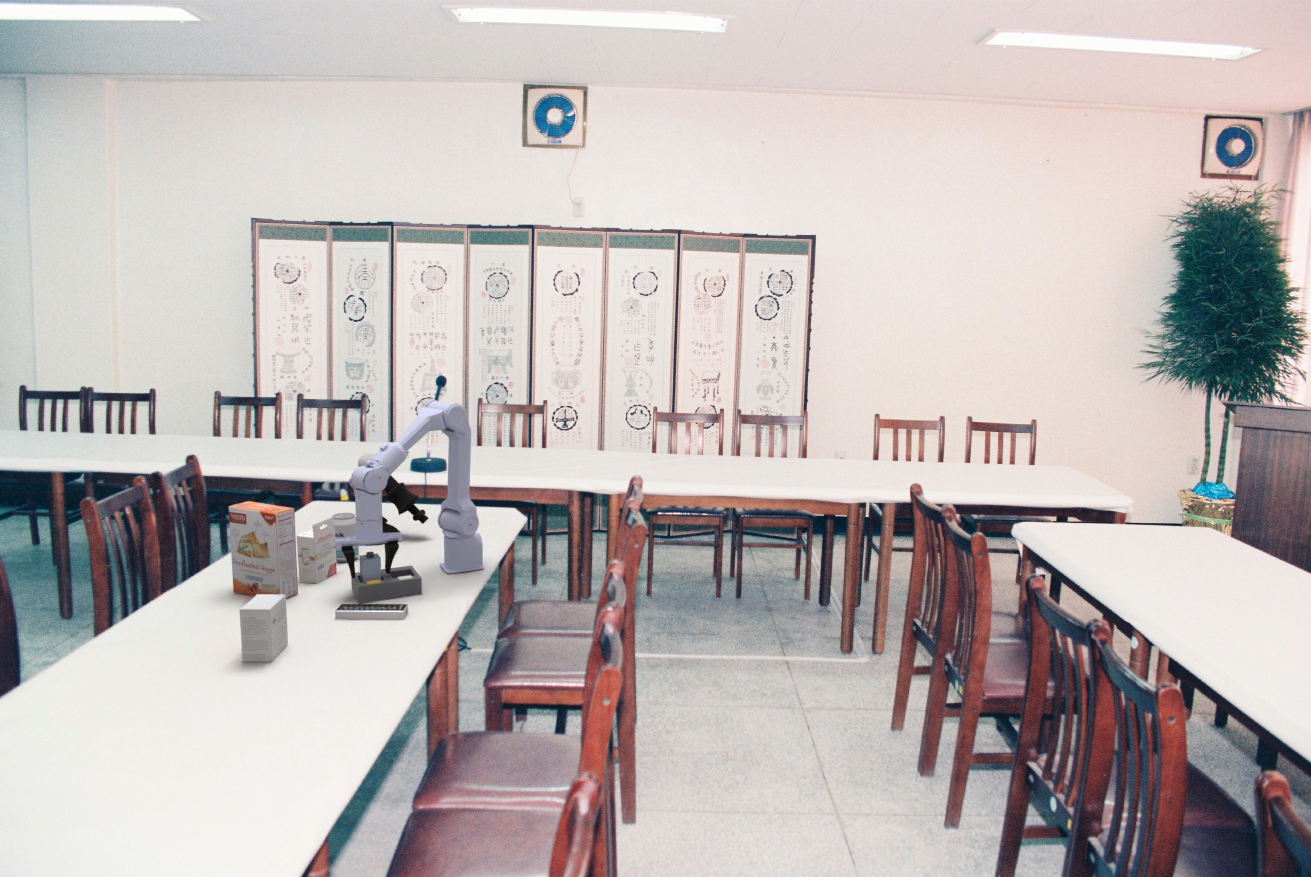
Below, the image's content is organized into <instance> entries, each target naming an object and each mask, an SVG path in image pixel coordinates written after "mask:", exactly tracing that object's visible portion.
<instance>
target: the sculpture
mask: <svg viewBox="0 0 1311 877" xmlns="http://www.w3.org/2000/svg"><path fill="white" fill-rule="evenodd" d="M375 454H376V453H372V452H371V453H369V452H368V453H364V454H363V455H361V456H360V457H359V458H358V460H357V461H358V462H357V466H358V467H361V466H365V464H366V462H367V461H368V460H370V459H371V458H372V457H373V456H374V455H375ZM382 491H384V492H385V494H386V496H385V499H386V500H387V501H389V502H390V503H392V504H393V505H394V506H395V507H396V509H397V511H398V512H397V513H398V516H400V515H402V514H404V513H406V512H408V513H410V514H411V515H412V520H413V521H414V522H417V521H419V522H420V524H421V525H423V524H425V523H426V522H427V521H428V520H429V517H428V516H427V515H426V510H425V509H419V508H418V506H416V505H415V504H416V501H417V500H418V499H419V495H418V494H415V493H412V492H411V491H409V490H408V488H407V486H406V485H405V482H400V483H399V482H398V481H397V480H396V478H395V477H393V476H392V474H391V475H390V476H389V478H388V480H387V485H386V487H385V489H383V490H382ZM388 521H389V520H388V519H387V518H386V517H384V516H383V515H382V528H383V533H396V532H401V530H399V529H398V528H397V527H395V526H394V525H391V524H390V523H388ZM380 545H381V546H383V545H384V543H382V544H373V545H372V546H380ZM364 546H366V547H367V546H370V545H364Z"/></svg>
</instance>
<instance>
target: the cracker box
mask: <svg viewBox="0 0 1311 877" xmlns="http://www.w3.org/2000/svg"><path fill="white" fill-rule="evenodd" d="M295 516H296V515H295V508H294V507H290V506H289V507H287V506H281V505H280V506H279V505H275V504H268V503H264V502H263V503H262V502H256V501H250V500H248V501H244V502H240V503H235V504H232V505H229V506H228V519H229V520H228V521H229V522H228V523H229V533H230V534H229V536H230V537H229V539H230V556H231V557H230V558H231V568H232V569H231V572H232V573H231V574H232V575H231V576H232V586H233V587H232V588H233V589H232V590H233V593H237V594H241V595H246V596H251V597H255V596H256V595H257V594H281V595H286V600H287V599H290V598H291V597H294V596H296V595H299V588H298V587H299V584H298V583H299V581H298V580H299V579H298V565H297V564H298V557H297V536H296V517H295Z"/></svg>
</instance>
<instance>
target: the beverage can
mask: <svg viewBox="0 0 1311 877" xmlns="http://www.w3.org/2000/svg"><path fill="white" fill-rule="evenodd" d="M331 517H333V520H334V528H335V539H340V538H346V537H350V536H355V535H356V513H352V512H341V513H340V512H339V513H336V514H333V515H332V516H331ZM359 547H360V546H355V547H353V548H354V552H355V559H356V558H357V557H360V552H359V550H360V548H359ZM336 561H337V562H336V563H347V560H346V558H345V556H344V554H343V552H342V550H341V549H336Z"/></svg>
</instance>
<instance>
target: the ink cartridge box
mask: <svg viewBox="0 0 1311 877" xmlns="http://www.w3.org/2000/svg"><path fill="white" fill-rule="evenodd" d="M325 525H326V526H325ZM323 526H324V527H323ZM296 551H297V564H298V565H297V568H298V580H299V581H298V583H307V584H308V583H309V584H318V583H320V582H322V581H324V580H326V579H327V578H330V577H332V576H333V575H335V574H337V569H338V568H337V562H336V542H335V528H334V520H333V517H332V516H331V517H329V518H326V519H324V520H321V521H319V522H317V523H314V524H312V529H311V530H308V531H305V532H303V533H300V534H298V535H297V536H296Z"/></svg>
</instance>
